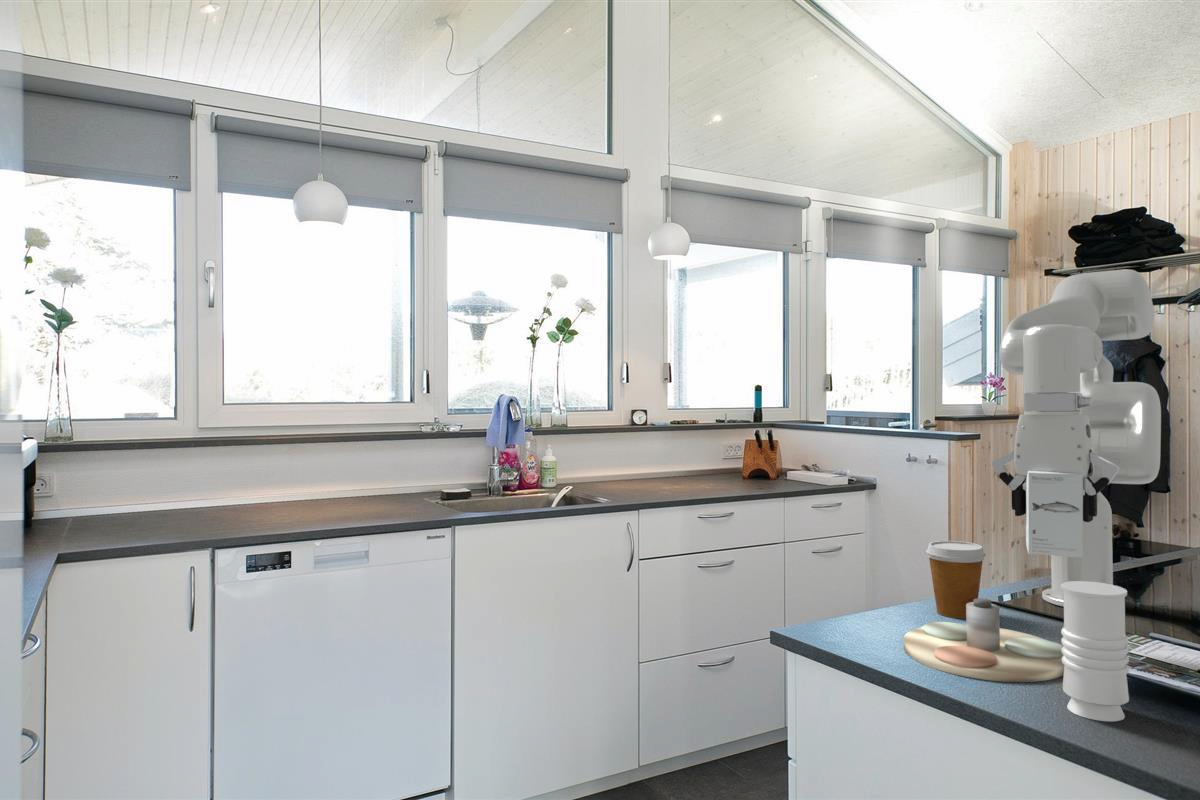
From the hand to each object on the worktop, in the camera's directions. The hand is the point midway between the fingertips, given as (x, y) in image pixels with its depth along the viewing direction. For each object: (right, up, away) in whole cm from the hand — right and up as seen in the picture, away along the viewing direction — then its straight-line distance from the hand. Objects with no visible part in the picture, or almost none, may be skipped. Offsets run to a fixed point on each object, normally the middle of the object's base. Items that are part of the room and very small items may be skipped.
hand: (1053, 517), depth 117 cm
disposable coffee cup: (-7, -20, +17) cm, 27 cm away
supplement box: (0, -6, 0) cm, 6 cm away
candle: (-9, -20, -24) cm, 33 cm away
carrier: (-13, -20, -4) cm, 24 cm away
